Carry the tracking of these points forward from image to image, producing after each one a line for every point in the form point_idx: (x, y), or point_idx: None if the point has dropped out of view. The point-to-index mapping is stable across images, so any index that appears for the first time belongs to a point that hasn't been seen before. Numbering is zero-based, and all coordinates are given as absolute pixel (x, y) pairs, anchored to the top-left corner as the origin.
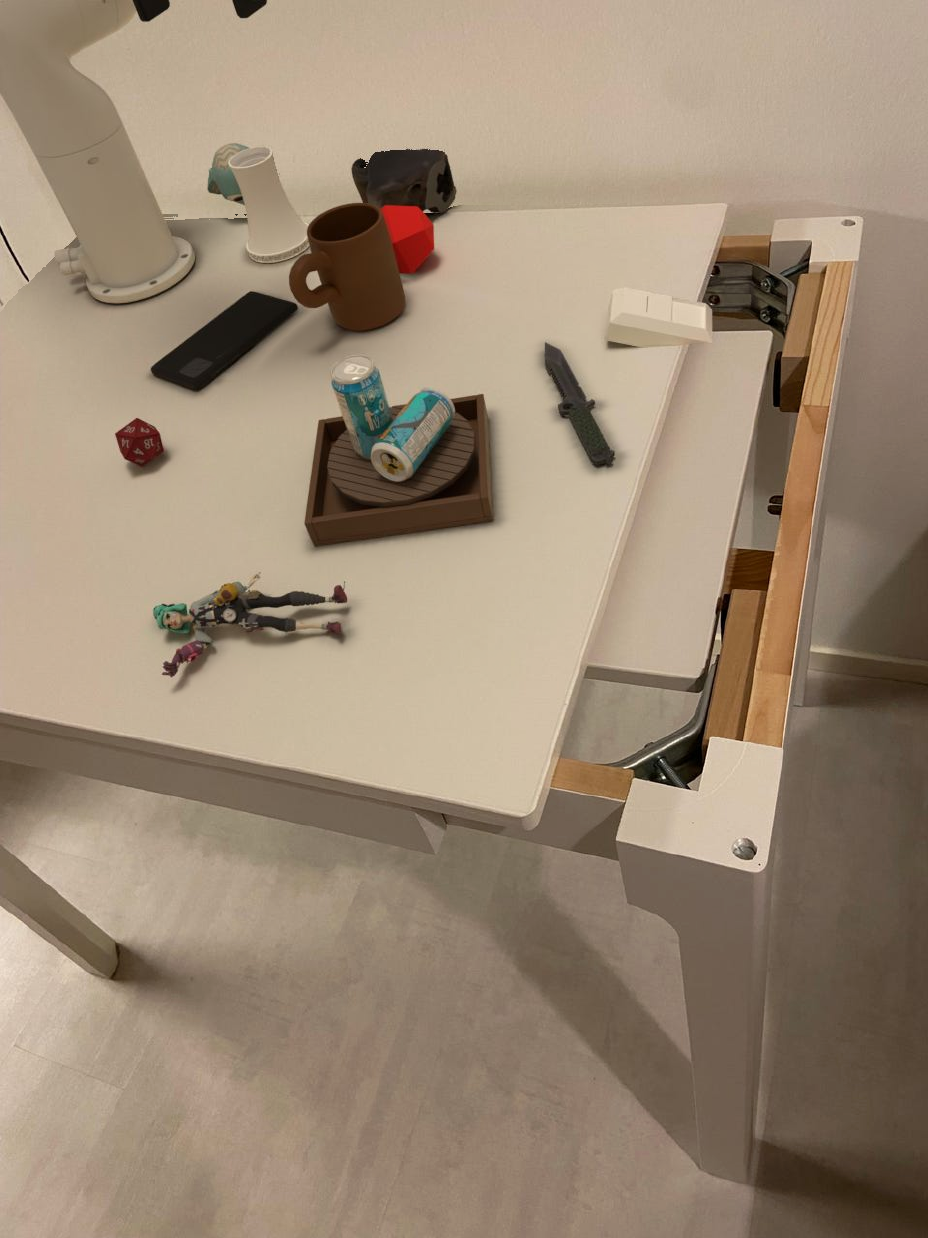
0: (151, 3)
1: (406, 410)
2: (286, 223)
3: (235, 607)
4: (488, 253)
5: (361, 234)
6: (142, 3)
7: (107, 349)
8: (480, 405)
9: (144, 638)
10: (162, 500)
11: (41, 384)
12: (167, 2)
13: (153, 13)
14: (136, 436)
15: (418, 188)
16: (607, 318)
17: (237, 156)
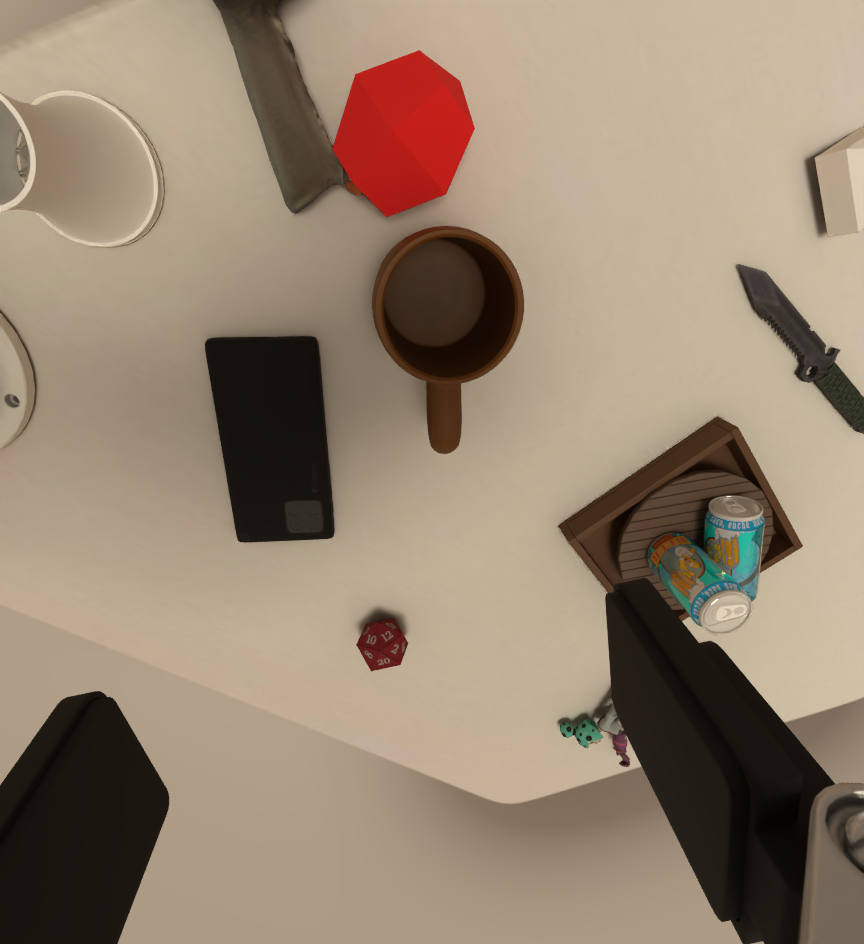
0: (135, 809)
1: (740, 560)
2: (120, 176)
3: None
4: (527, 44)
5: (514, 336)
6: (147, 859)
7: (113, 529)
8: (743, 445)
9: (558, 737)
10: (447, 652)
11: (107, 612)
12: (107, 714)
13: (152, 782)
14: (398, 661)
15: None
16: (823, 190)
17: None
